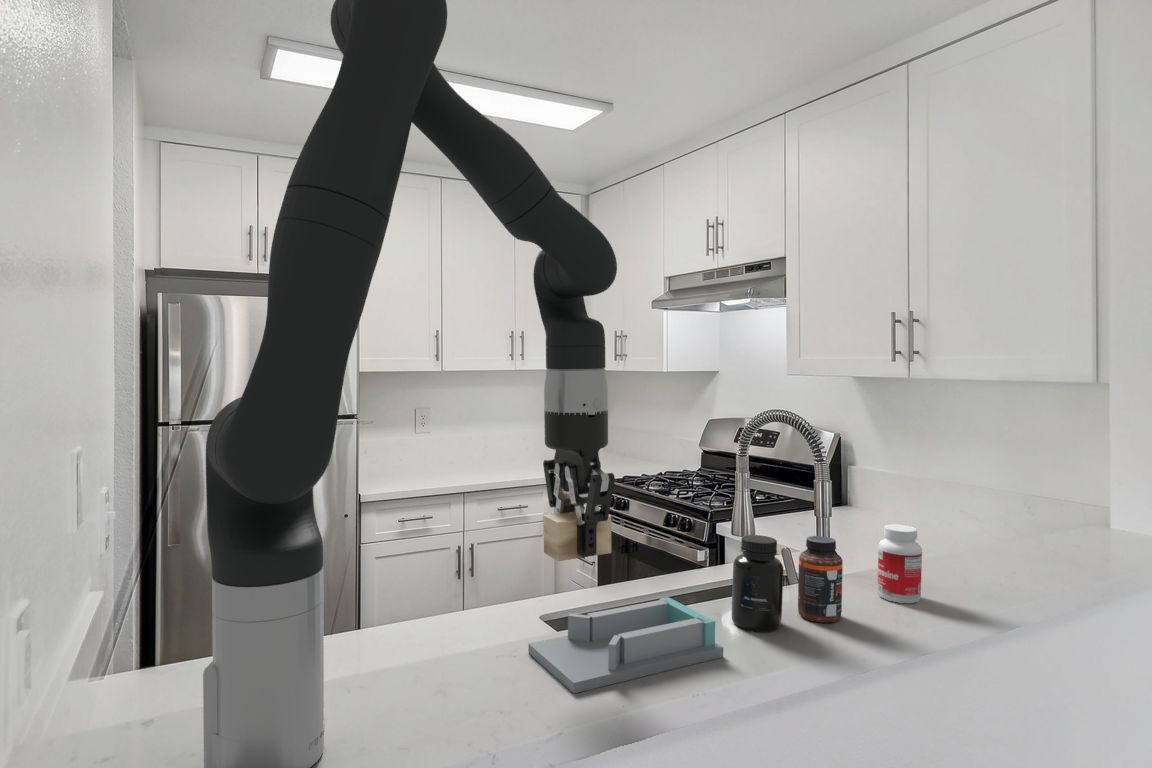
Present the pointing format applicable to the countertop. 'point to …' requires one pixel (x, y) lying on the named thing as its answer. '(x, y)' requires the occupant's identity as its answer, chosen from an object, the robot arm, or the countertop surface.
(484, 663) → the countertop surface
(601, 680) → the guide board
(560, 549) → the beech block
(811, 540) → the supplement bottle
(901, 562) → the pill bottle
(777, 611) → the supplement bottle
